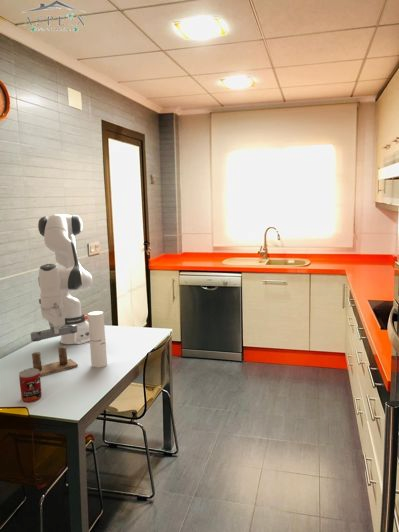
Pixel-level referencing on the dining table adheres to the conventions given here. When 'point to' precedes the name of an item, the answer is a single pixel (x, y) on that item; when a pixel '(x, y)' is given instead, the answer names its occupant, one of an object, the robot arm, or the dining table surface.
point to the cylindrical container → (97, 338)
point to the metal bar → (50, 333)
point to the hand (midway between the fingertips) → (54, 331)
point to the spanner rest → (53, 367)
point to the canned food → (30, 385)
